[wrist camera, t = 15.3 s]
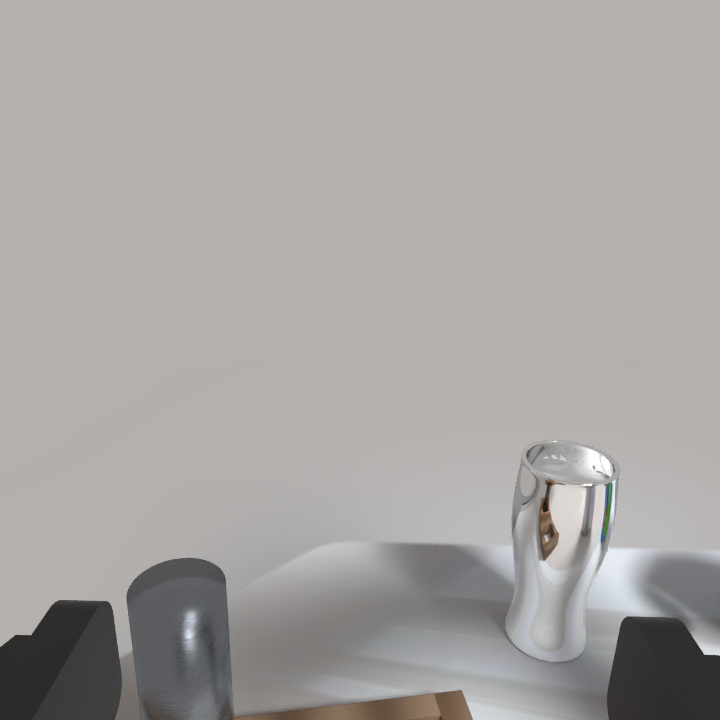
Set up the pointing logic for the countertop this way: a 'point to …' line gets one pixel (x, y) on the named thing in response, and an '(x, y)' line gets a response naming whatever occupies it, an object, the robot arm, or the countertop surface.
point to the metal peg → (181, 641)
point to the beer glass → (558, 544)
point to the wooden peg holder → (384, 709)
